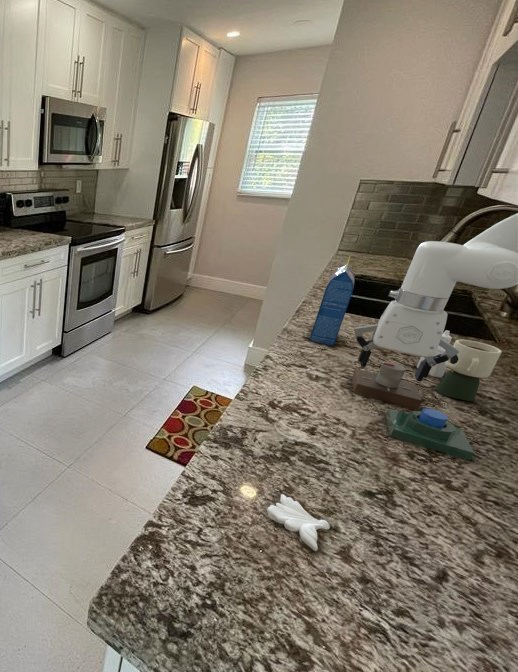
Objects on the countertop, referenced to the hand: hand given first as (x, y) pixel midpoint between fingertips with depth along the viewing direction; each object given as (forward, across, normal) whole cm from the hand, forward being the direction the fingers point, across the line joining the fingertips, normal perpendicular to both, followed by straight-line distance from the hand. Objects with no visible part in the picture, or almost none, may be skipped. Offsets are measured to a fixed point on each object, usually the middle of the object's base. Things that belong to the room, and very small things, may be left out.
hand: (389, 371), depth 93 cm
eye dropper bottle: (+6, +11, +22) cm, 26 cm away
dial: (+3, 0, 0) cm, 3 cm away
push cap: (+2, +5, -16) cm, 17 cm away
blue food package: (+6, -11, +31) cm, 34 cm away
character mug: (+6, +14, +10) cm, 19 cm away
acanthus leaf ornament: (+6, -14, -56) cm, 58 cm away
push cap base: (+6, +5, -16) cm, 18 cm away
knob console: (+6, 0, 0) cm, 6 cm away
